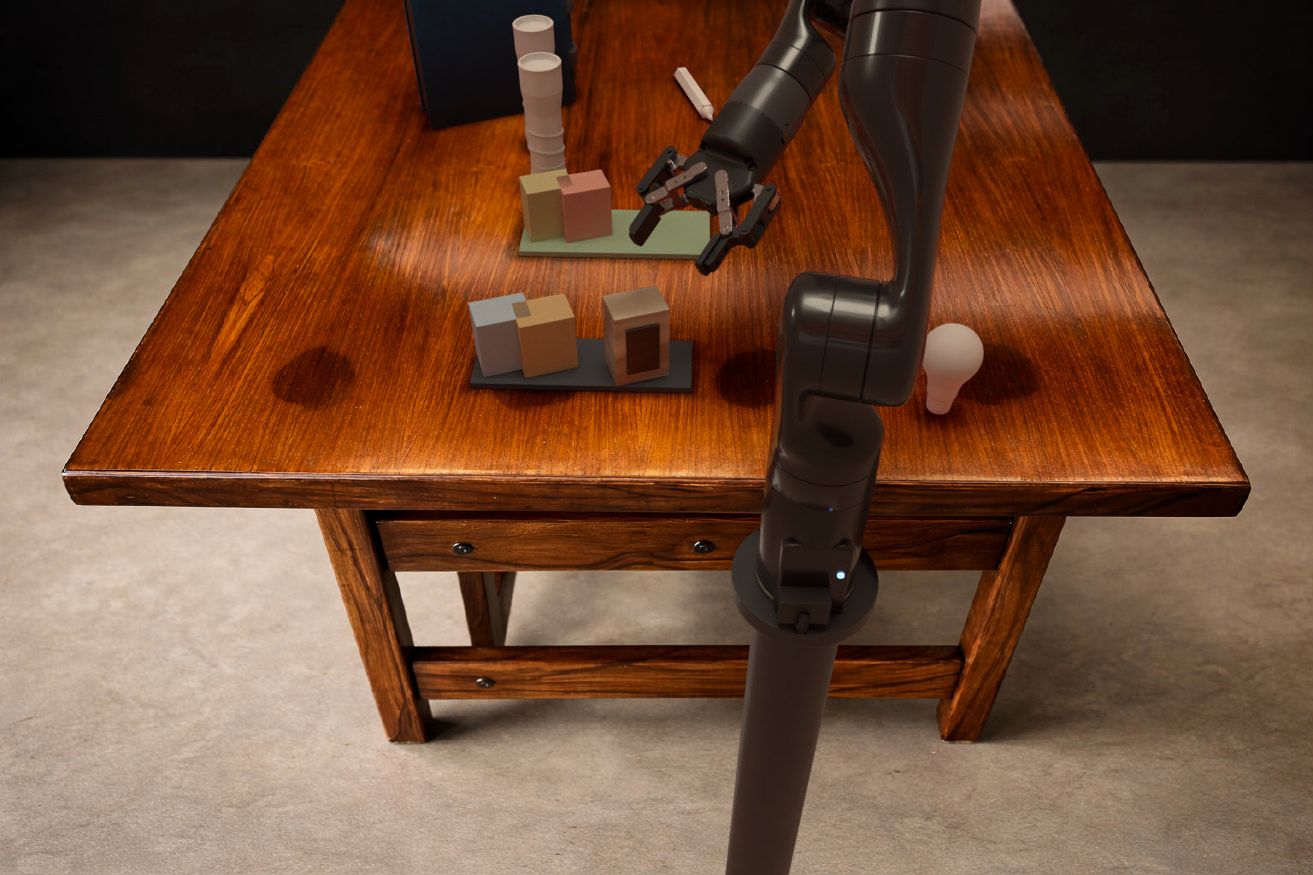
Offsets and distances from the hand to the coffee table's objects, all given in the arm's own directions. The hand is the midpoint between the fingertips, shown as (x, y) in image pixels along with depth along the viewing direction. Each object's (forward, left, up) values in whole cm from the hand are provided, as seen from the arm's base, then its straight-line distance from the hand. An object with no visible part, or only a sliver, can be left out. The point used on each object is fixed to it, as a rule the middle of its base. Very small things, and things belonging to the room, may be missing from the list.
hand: (666, 256), depth 99 cm
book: (+65, +27, -17) cm, 72 cm away
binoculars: (+46, +18, -17) cm, 52 cm away
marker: (+66, -3, -17) cm, 68 cm away
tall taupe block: (+2, +3, -16) cm, 16 cm away
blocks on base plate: (+3, +9, -17) cm, 19 cm away
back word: (+29, +7, -17) cm, 34 cm away
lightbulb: (-3, -29, -17) cm, 34 cm away
